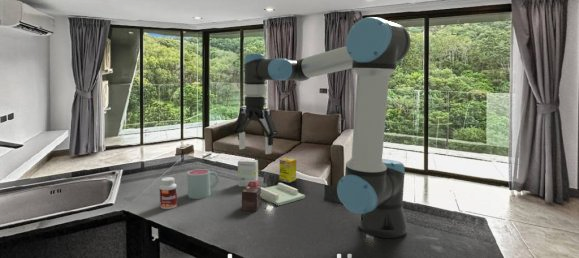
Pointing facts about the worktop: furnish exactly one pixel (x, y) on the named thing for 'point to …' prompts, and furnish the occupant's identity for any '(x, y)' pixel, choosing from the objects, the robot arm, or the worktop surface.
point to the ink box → (248, 173)
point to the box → (251, 198)
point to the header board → (281, 194)
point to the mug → (200, 183)
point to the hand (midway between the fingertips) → (254, 151)
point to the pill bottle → (168, 193)
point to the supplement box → (287, 170)
